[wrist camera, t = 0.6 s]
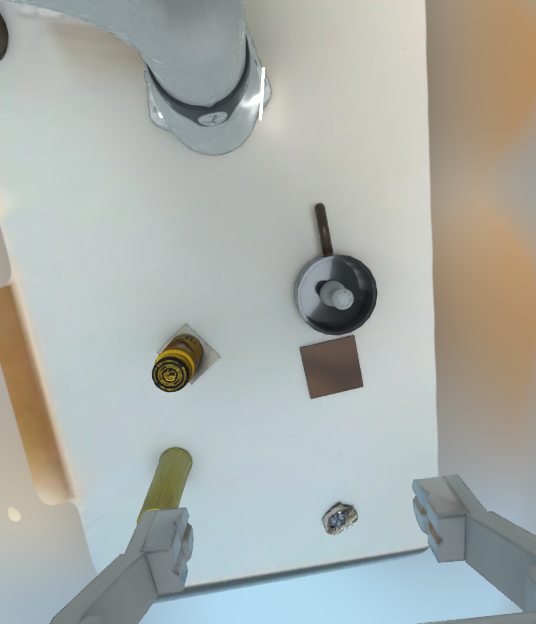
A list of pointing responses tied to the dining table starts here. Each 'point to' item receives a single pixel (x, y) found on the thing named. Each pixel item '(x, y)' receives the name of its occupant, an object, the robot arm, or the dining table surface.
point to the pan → (352, 279)
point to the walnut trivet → (331, 366)
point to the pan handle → (323, 230)
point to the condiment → (182, 360)
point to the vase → (168, 481)
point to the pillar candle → (2, 36)
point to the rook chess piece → (336, 295)
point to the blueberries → (339, 519)
